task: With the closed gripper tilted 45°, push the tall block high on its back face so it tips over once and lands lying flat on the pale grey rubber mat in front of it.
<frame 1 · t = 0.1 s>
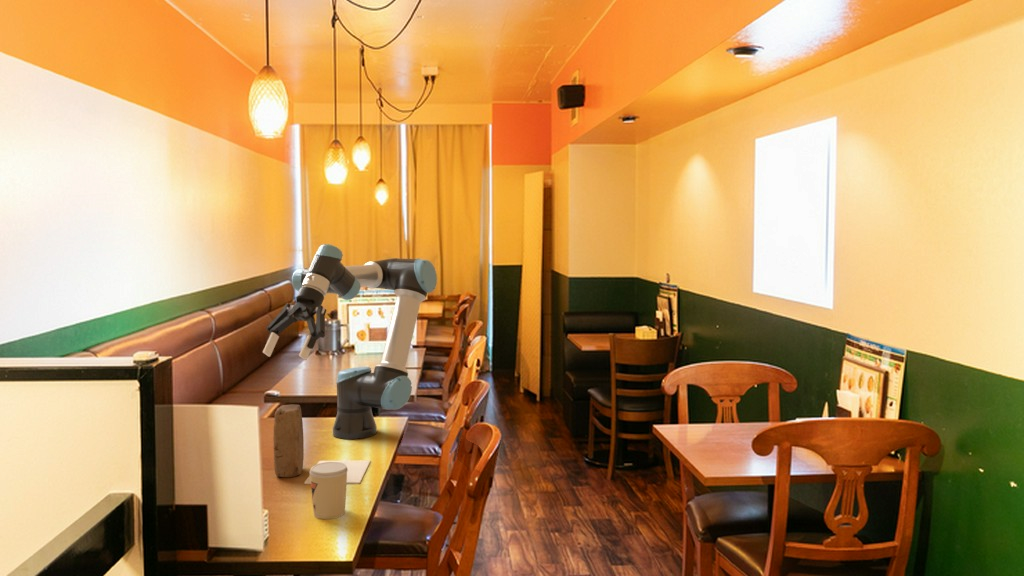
hand: (284, 356, 215), 36 cm above the table, tool tilted 35°, fingers open, 13 cm apart
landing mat: (338, 472, 225), on the table
block: (289, 473, 225), on the table
coffee cup: (329, 514, 193), on the table
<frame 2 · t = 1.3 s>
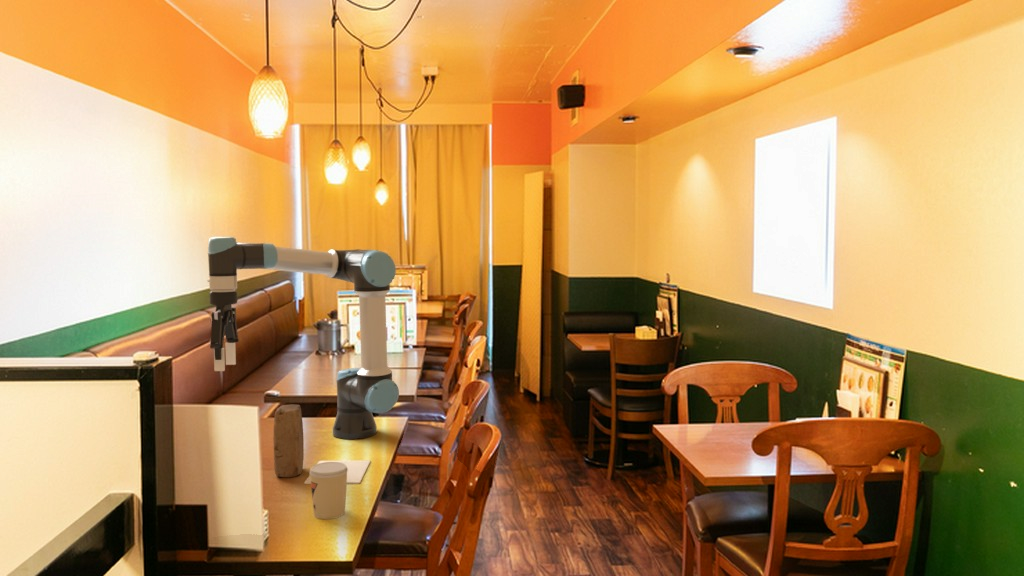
hand: (225, 367, 221), 32 cm above the table, tool pointing down, fingers open, 9 cm apart
nothing on the table moved.
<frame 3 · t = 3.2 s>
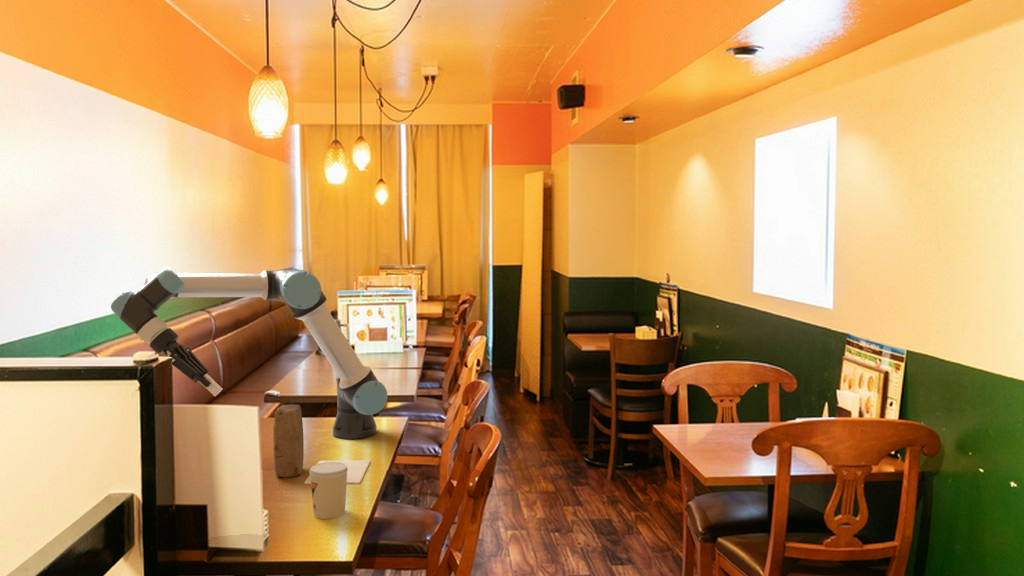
hand: (218, 392, 222), 24 cm above the table, tool tilted 45°, fingers closed
nothing on the table moved.
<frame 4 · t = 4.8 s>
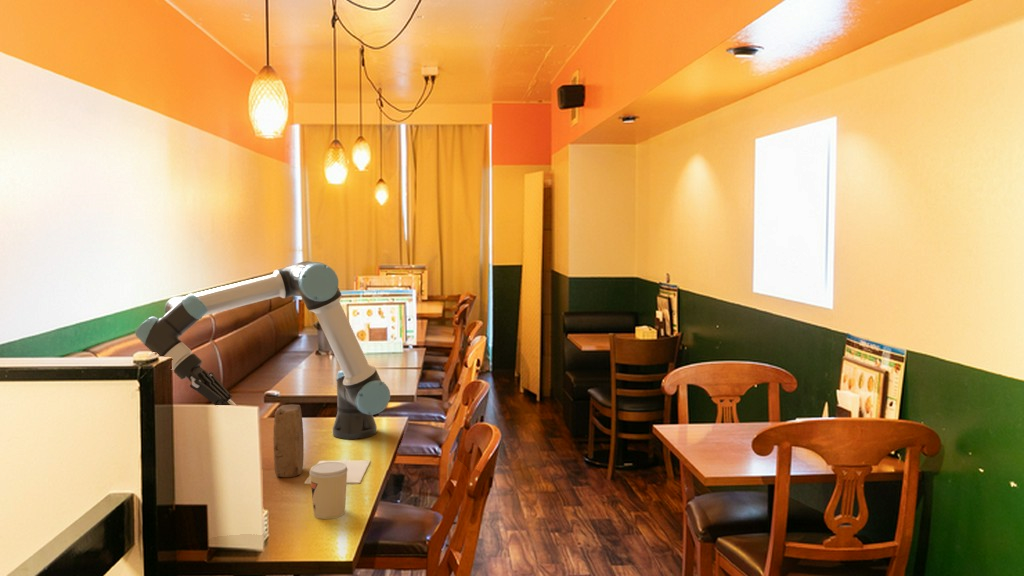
hand: (242, 418, 222), 17 cm above the table, tool tilted 45°, fingers closed
nothing on the table moved.
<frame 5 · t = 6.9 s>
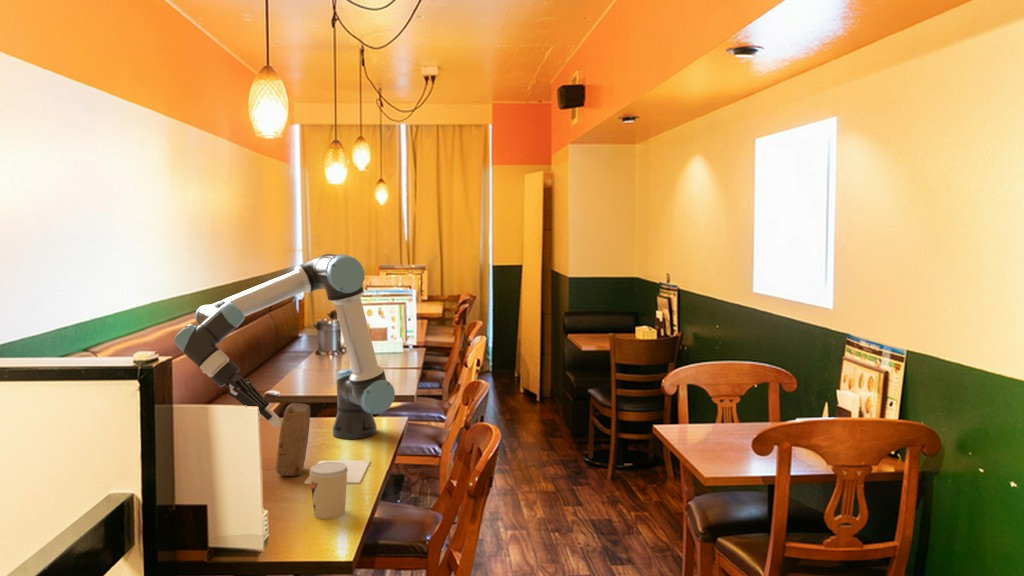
hand: (279, 425, 223), 14 cm above the table, tool tilted 45°, fingers closed
block: (289, 471, 224), on the table, touching gripper
everything else where it was.
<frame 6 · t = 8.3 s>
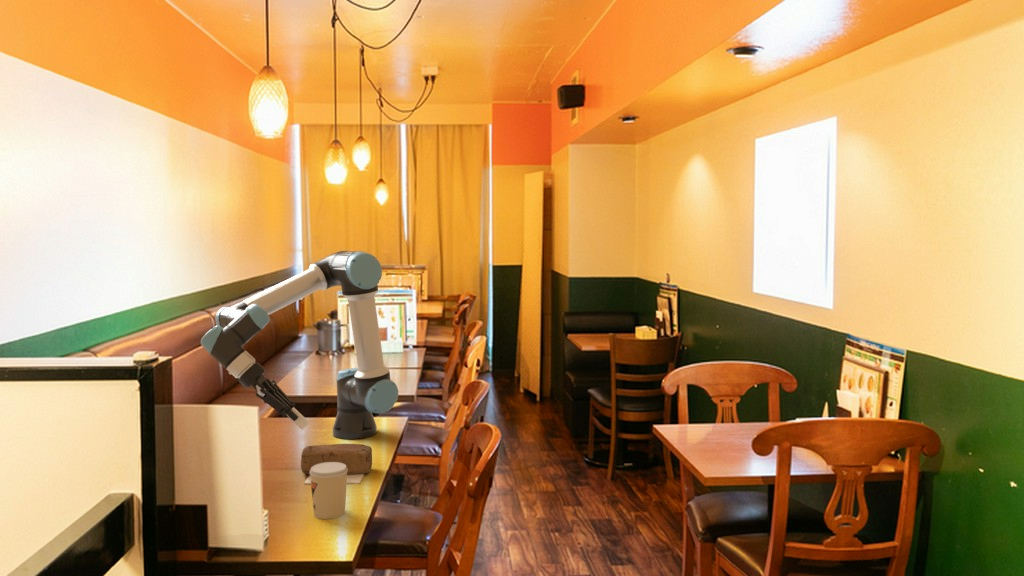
hand: (305, 426, 224), 14 cm above the table, tool tilted 45°, fingers closed
block: (302, 458, 225), point 4 cm above the table, touching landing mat
everything else where it was.
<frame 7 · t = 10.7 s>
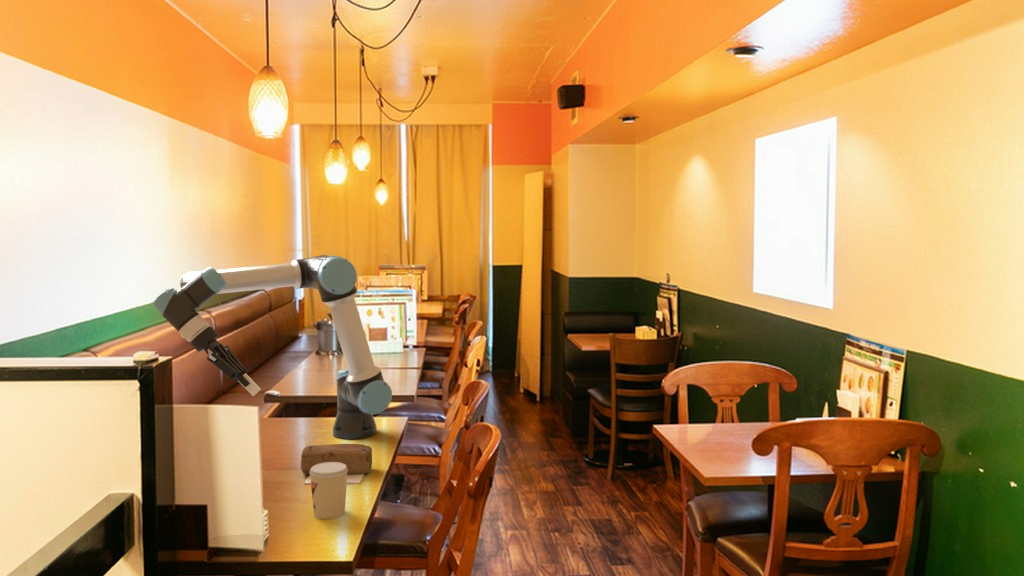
hand: (257, 392, 223), 24 cm above the table, tool tilted 40°, fingers closed
nothing on the table moved.
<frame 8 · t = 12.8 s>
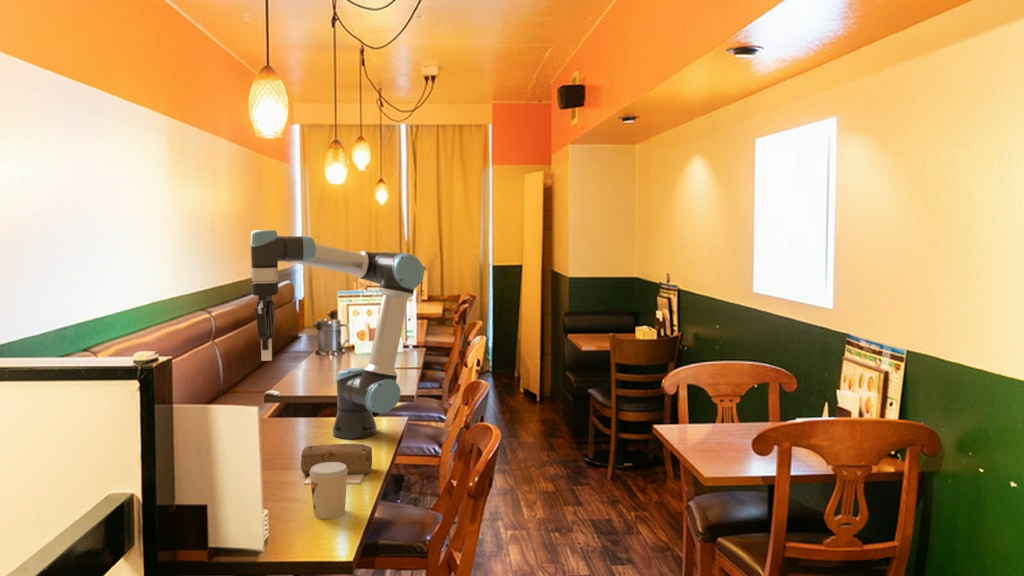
hand: (266, 360, 228), 32 cm above the table, tool pointing down, fingers closed
nothing on the table moved.
at the end: block tilted 91°; block touching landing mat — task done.
